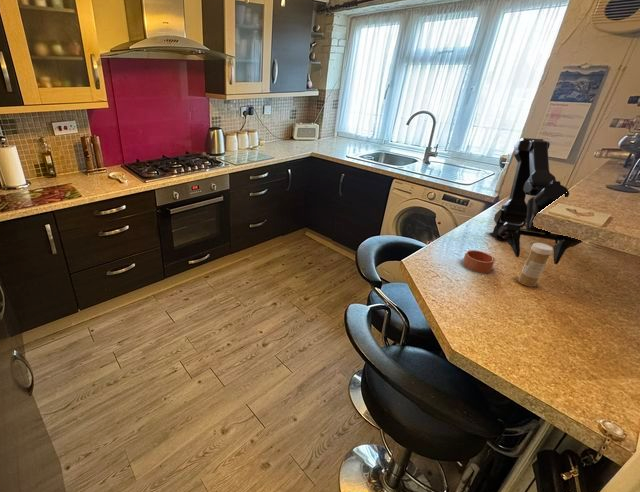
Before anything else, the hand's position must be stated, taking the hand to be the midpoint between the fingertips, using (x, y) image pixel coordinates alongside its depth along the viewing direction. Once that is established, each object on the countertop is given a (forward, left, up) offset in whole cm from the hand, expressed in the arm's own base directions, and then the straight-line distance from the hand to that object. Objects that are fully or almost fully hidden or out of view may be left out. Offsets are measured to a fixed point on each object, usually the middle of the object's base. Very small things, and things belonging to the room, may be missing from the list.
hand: (536, 260), depth 97 cm
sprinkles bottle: (0, 0, -8) cm, 8 cm away
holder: (+9, -10, -8) cm, 16 cm away
